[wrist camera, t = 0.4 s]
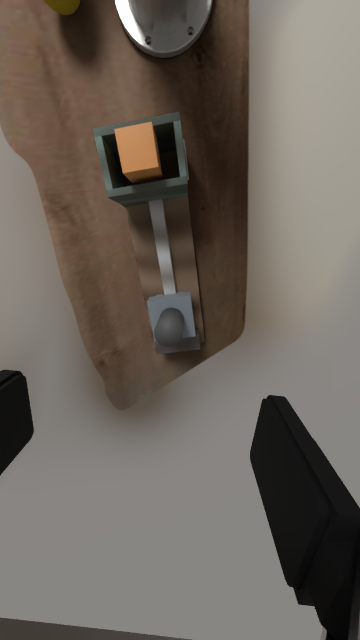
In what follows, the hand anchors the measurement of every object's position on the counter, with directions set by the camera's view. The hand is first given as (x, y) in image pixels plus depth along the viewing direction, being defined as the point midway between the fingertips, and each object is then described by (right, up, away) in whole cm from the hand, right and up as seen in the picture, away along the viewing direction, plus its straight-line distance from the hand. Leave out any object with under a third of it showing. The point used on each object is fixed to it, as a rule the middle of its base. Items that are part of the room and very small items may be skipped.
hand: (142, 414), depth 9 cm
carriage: (0, +5, +31) cm, 31 cm away
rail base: (-1, +14, +30) cm, 33 cm away
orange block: (-3, +23, +18) cm, 30 cm away
